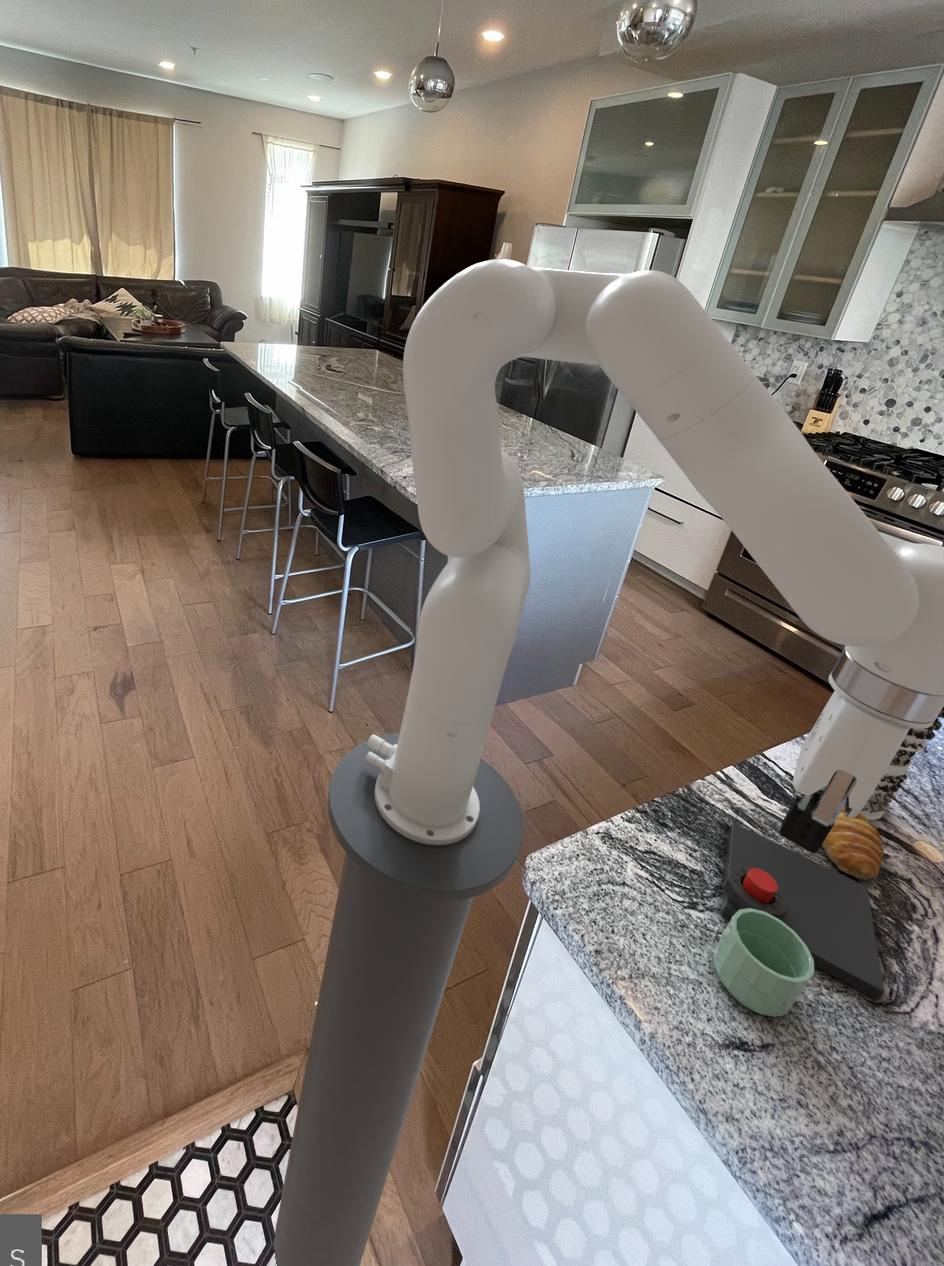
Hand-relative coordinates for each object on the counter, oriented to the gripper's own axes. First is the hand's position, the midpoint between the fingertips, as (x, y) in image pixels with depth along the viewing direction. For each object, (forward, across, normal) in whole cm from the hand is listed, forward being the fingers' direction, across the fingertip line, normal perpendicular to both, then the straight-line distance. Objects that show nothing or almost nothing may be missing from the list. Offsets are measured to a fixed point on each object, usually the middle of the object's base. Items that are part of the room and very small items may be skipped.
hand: (797, 839), depth 61 cm
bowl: (+13, +6, +1) cm, 14 cm away
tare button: (+10, -3, 0) cm, 11 cm away
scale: (+13, -7, +4) cm, 15 cm away
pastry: (+13, -22, +8) cm, 27 cm away
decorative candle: (+13, -34, +7) cm, 37 cm away
